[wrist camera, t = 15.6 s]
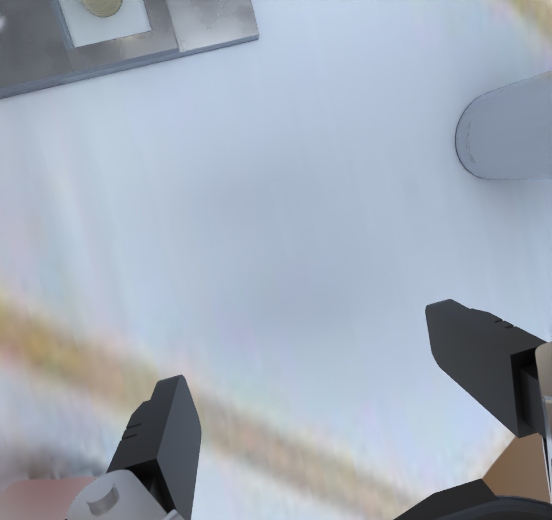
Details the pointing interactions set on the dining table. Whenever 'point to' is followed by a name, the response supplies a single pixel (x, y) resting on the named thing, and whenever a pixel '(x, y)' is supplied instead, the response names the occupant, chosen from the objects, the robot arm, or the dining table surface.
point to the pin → (102, 7)
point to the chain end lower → (194, 29)
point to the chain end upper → (56, 51)
